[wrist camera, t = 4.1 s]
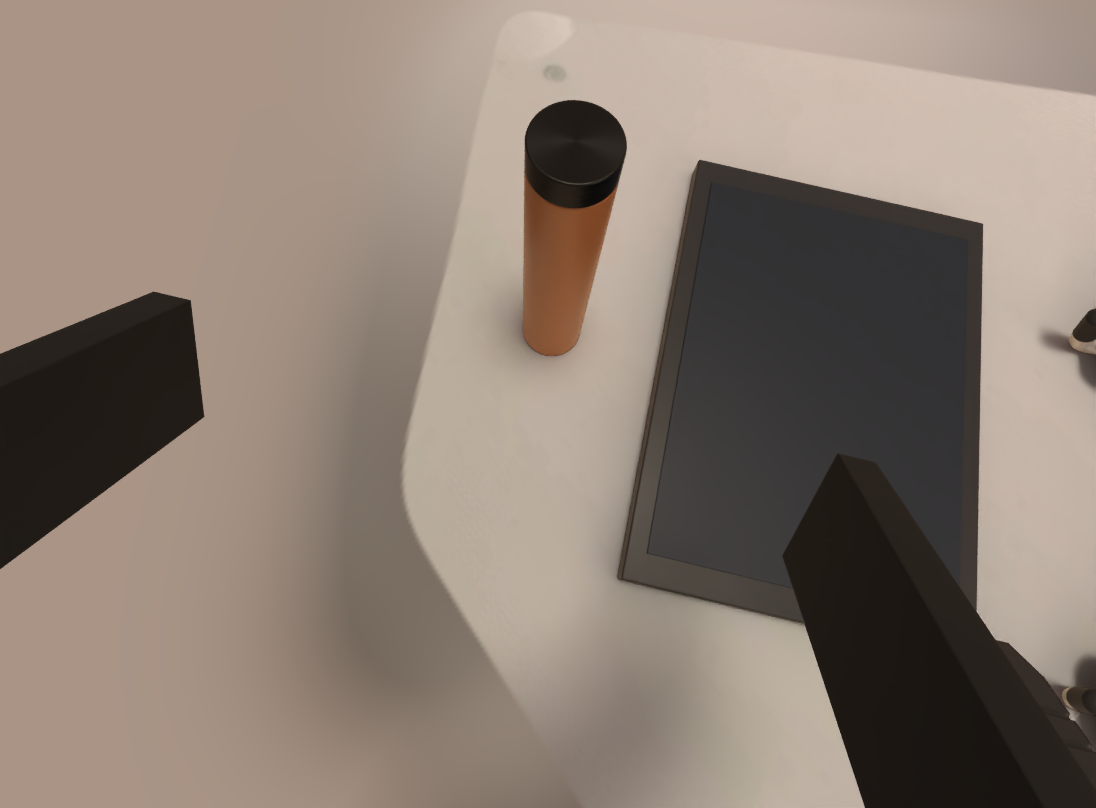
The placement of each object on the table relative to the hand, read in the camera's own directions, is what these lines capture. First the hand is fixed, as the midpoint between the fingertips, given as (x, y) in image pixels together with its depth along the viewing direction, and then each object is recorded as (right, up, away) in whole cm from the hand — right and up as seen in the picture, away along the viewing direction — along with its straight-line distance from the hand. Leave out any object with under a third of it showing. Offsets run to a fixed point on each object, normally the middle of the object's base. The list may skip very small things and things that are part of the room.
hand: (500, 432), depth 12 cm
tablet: (+13, +1, +14) cm, 19 cm away
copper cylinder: (+1, +4, +14) cm, 15 cm away
